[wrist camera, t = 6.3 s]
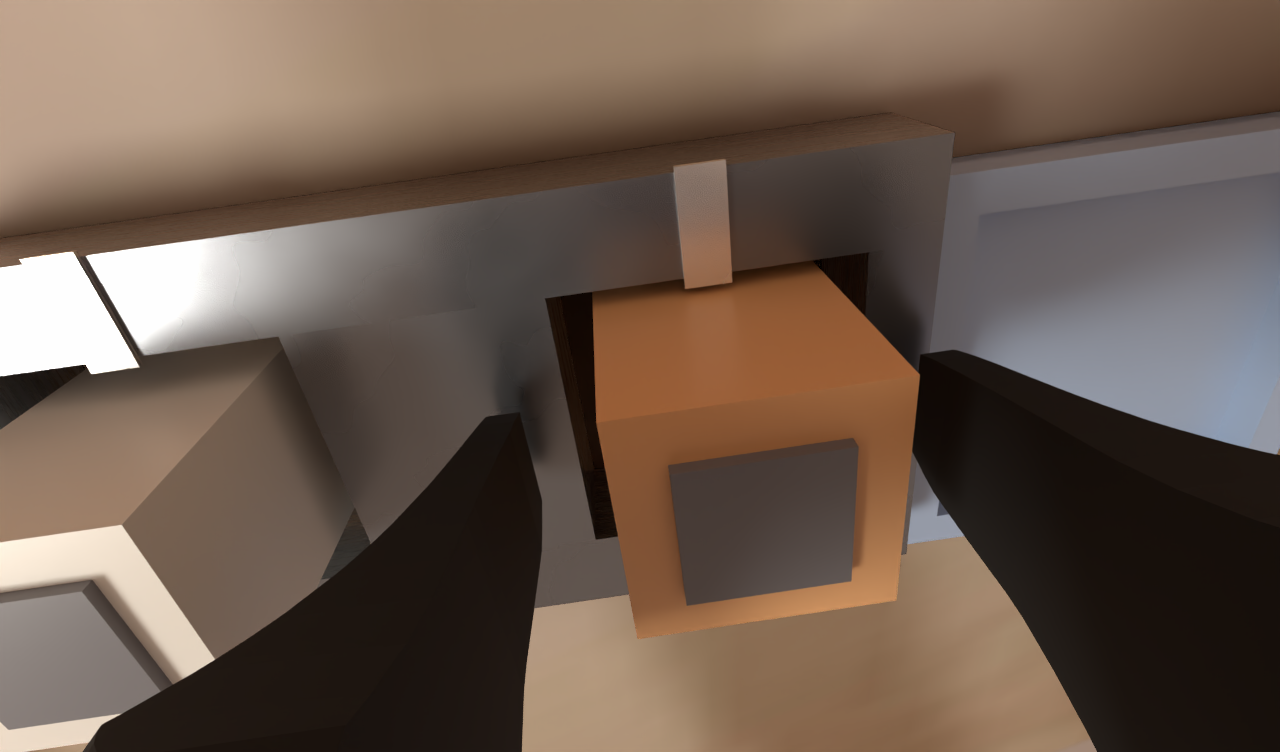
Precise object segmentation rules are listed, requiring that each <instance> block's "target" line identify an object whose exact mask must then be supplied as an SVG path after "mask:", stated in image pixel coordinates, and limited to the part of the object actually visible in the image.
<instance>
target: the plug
mask: <svg viewBox="0 0 1280 752" xmlns="http://www.w3.org/2000/svg"><path fill="white" fill-rule="evenodd" d="M592 299H593V331H594V363H595V396H596V424H597V429H598V434H599V439H600V445H601V450H602V455H603V460H604V465H605V471H606V476H607V481H608V486H609V492H610V497H611V502H612V507H613V513H614V518H615V523H616V528H617V533H618V539H619V544H620V549H621V554H622V560H623V565H624V570H625V575H626V580H627V586H628V591H629V596H630V601H631V607H632V612H633V617H634V622H635V628H636V633H637V638H638V639H642V638H648V637H655V636H662V635H668V634H675V633H682V632H688V631H695V630H702V629H708V628H715V627H722V626H728V625H735V624H742V623H748V622H755V621H762V620H769V619H775V618H782V617H789V616H795V615H802V614H809V613H815V612H822V611H829V610H835V609H842V608H849V607H855V606H862V605H869V604H875V603H882V602H889V601H896V599H897V589H898V580H899V570H900V561H901V551H902V542H903V532H904V523H905V513H906V504H907V494H908V485H909V475H910V466H911V456H912V447H913V437H914V428H915V418H916V409H917V399H918V390H919V380H920V374H919V373H918V372H917V371H916V370H915V369H914V368H913V367H912V366H911V365H910V364H909V363H908V362H907V361H906V360H905V358H904V357H903V356H902V355H901V354H900V353H899V352H898V351H897V350H896V349H895V348H894V347H893V346H892V345H891V344H890V343H889V341H888V340H887V339H886V338H885V337H884V336H883V335H882V334H881V333H880V332H879V331H878V330H877V329H876V328H875V327H874V326H873V324H872V323H871V322H870V321H869V320H868V319H867V318H866V317H865V316H864V315H863V314H862V313H861V312H860V311H859V310H858V309H857V308H856V306H855V305H854V304H853V303H852V302H851V301H850V300H849V299H848V298H847V297H846V296H845V295H844V294H843V293H842V292H841V291H840V289H839V288H838V287H837V286H836V285H835V284H834V283H833V282H832V281H831V280H830V279H829V278H828V277H827V276H826V275H825V274H824V272H823V271H822V270H821V269H820V268H819V267H818V266H817V265H816V264H815V263H814V262H813V261H812V260H811V261H804V262H797V263H790V264H783V265H776V266H769V267H762V268H755V269H748V270H741V271H734V272H732V283H725V284H718V285H711V286H704V287H697V288H690V289H685V287H684V279H678V280H671V281H664V282H657V283H650V284H643V285H636V286H629V287H622V288H615V289H608V290H601V291H594V292H592Z"/></svg>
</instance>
